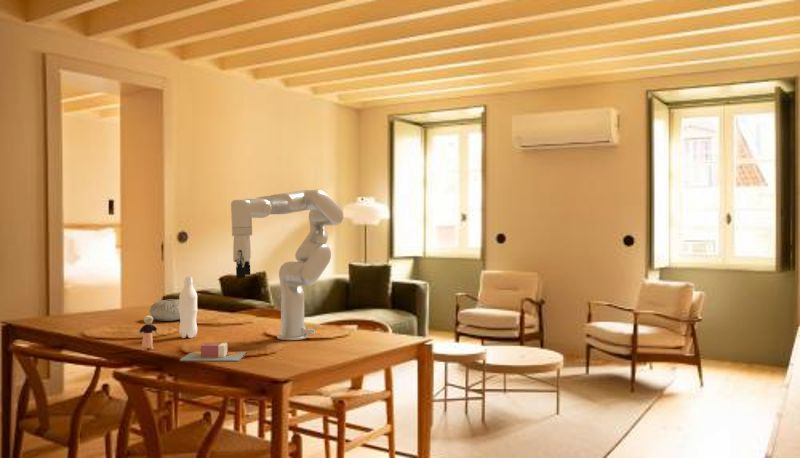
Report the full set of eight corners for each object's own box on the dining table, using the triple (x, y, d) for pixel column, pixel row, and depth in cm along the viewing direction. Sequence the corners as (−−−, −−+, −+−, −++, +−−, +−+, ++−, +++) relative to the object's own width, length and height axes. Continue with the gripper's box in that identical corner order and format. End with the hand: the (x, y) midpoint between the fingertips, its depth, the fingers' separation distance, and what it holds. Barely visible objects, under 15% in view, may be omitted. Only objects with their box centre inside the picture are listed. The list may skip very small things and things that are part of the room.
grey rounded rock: (143, 322, 301) (143, 301, 301) (157, 317, 319) (157, 297, 319) (181, 323, 302) (181, 301, 301) (193, 317, 319) (193, 297, 319)
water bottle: (191, 339, 262) (192, 277, 261) (175, 338, 263) (175, 277, 263) (200, 336, 269) (200, 276, 268) (184, 335, 270) (185, 275, 270)
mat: (246, 353, 235) (246, 351, 235) (237, 361, 221) (237, 360, 221) (192, 352, 235) (192, 351, 235) (179, 361, 221) (179, 359, 221)
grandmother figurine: (142, 351, 236) (143, 317, 236) (136, 350, 238) (136, 316, 238) (160, 348, 243) (160, 314, 243) (154, 347, 245) (154, 313, 245)
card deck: (204, 354, 231) (205, 343, 231) (227, 354, 231) (227, 343, 231) (201, 357, 226) (201, 345, 226) (223, 357, 226) (224, 345, 226)
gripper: (237, 230, 254) (238, 274, 255) (226, 233, 237) (228, 279, 238) (256, 230, 254) (257, 273, 255) (247, 232, 237) (249, 279, 238)
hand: (243, 276), depth 247 cm, fingers open, 9 cm apart
